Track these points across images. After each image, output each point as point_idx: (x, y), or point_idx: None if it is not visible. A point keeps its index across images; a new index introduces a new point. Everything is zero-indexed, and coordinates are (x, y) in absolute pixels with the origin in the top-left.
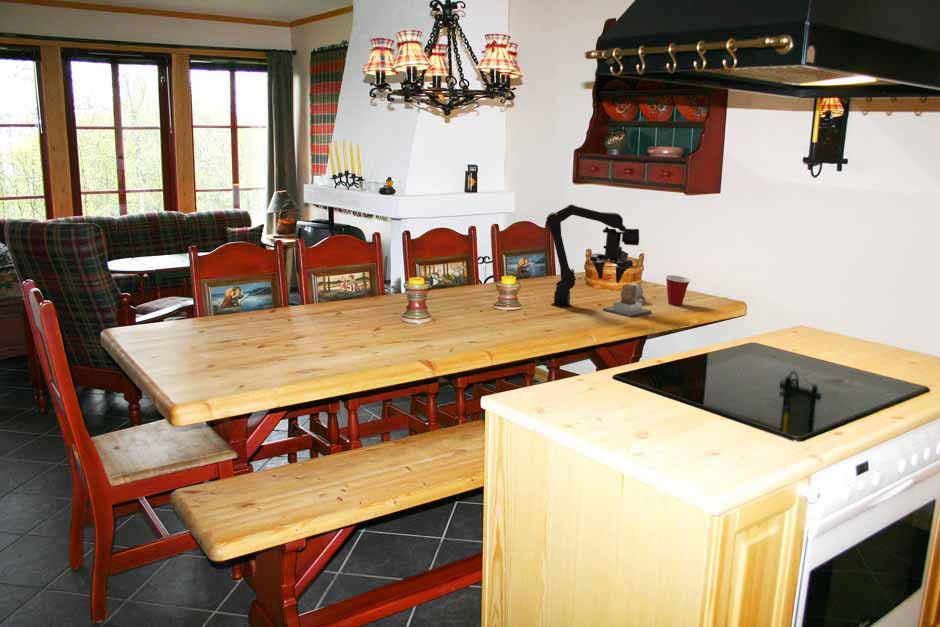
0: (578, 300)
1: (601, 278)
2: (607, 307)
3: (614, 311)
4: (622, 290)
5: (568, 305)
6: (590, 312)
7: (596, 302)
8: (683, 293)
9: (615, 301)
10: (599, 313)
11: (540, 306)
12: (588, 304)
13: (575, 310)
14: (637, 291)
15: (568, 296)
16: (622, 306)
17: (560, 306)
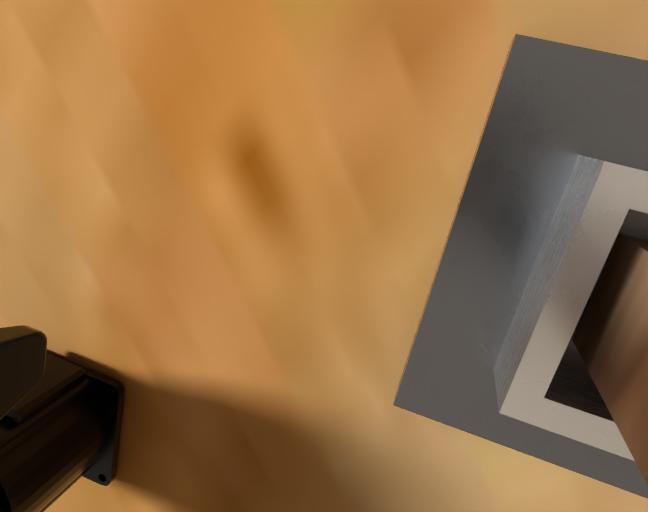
0: (37, 140)
1: (40, 350)
2: (414, 351)
3: (541, 455)
4: None
5: (116, 427)
6: (339, 509)
7: (182, 89)
8: None
9: (509, 393)
10: (416, 506)
11: None
12: (178, 234)
13: (221, 502)
14: None
15: (47, 466)
16: None
17: (98, 481)
